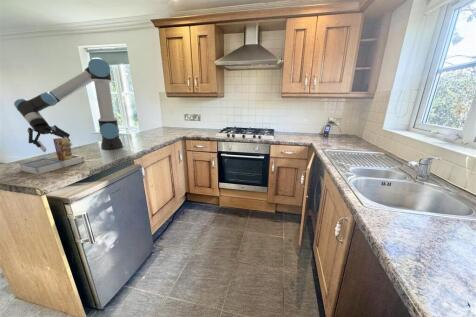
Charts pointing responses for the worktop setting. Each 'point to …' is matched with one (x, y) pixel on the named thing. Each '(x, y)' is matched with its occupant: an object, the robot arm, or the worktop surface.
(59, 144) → the candy box
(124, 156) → the worktop surface
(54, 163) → the organizer
